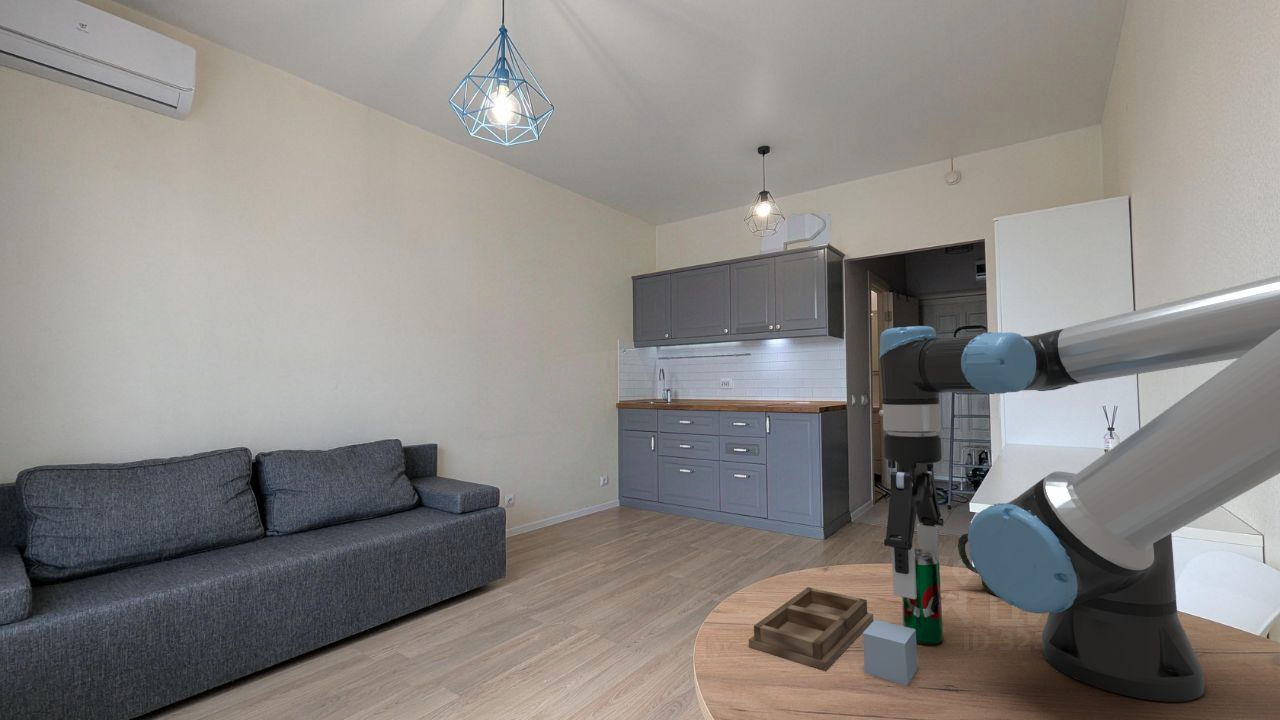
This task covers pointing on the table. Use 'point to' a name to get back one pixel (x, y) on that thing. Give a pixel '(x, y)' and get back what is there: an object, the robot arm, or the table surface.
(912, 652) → the block
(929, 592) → the soda can
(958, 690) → the table surface
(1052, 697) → the table surface
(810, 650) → the caddy
